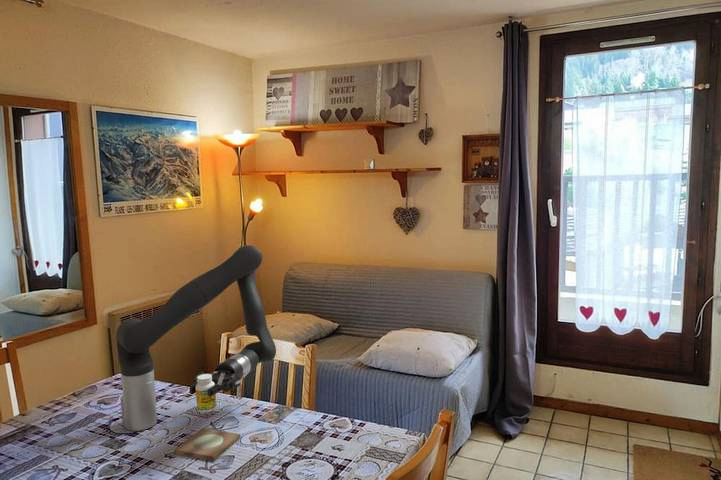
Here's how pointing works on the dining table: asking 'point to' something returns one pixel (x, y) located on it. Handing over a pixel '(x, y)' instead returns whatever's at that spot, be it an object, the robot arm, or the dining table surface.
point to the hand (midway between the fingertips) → (200, 392)
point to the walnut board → (207, 444)
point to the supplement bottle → (205, 393)
